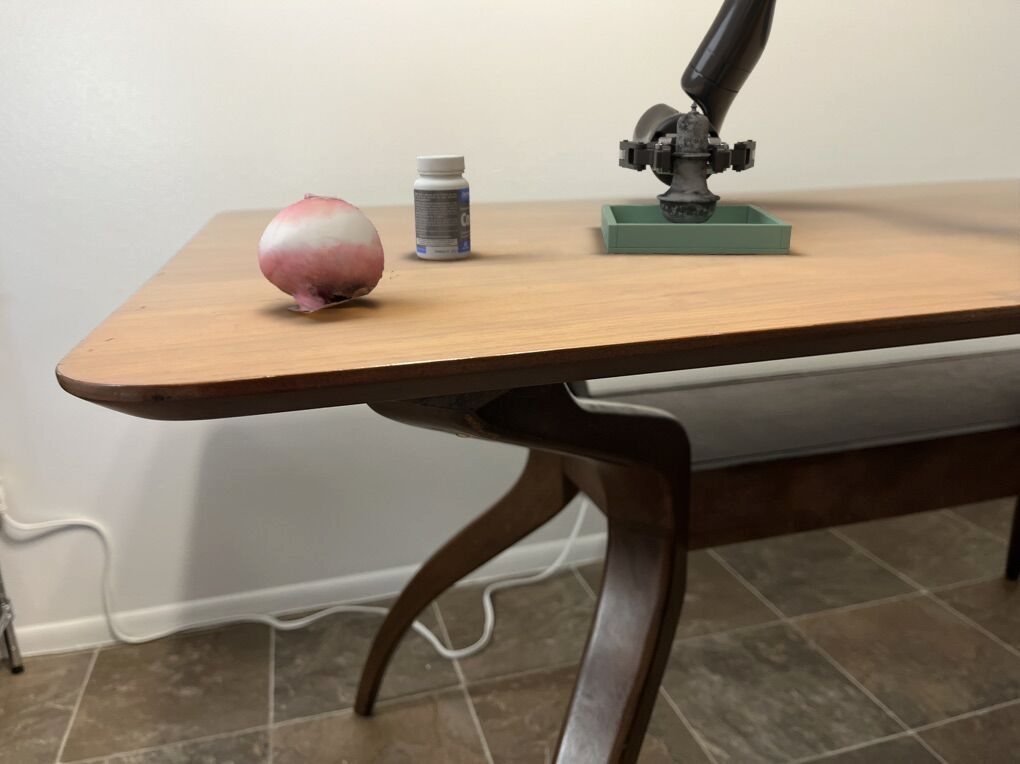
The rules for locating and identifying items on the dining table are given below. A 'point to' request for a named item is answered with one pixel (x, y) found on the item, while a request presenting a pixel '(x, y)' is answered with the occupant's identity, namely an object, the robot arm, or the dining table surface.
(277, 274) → the onion
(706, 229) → the tray
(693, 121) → the salt shaker
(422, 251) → the pill bottle
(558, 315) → the dining table surface
